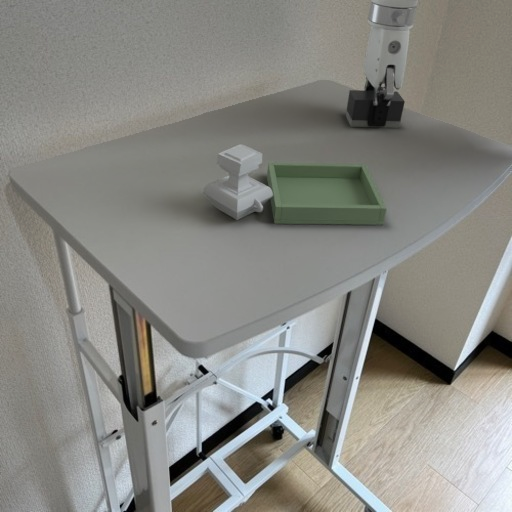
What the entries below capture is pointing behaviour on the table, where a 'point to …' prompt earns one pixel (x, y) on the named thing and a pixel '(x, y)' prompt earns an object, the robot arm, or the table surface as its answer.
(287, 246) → the table surface
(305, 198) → the tray
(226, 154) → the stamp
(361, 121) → the eraser
